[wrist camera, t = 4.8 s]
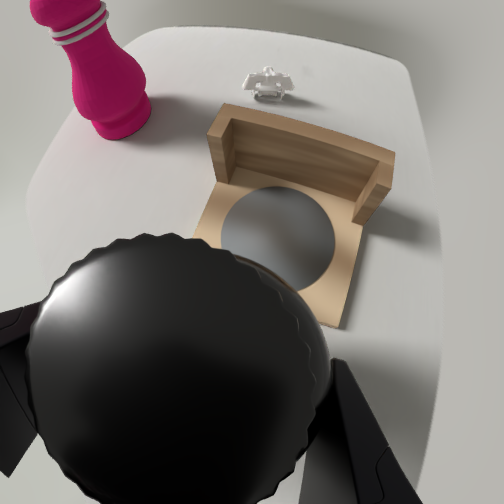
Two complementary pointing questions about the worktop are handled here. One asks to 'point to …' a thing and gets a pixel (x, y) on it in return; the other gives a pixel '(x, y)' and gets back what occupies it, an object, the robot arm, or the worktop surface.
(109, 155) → the worktop surface
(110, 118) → the pepper mill
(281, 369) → the supplement bottle
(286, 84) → the clip
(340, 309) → the holder
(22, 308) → the robot arm
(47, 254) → the worktop surface
